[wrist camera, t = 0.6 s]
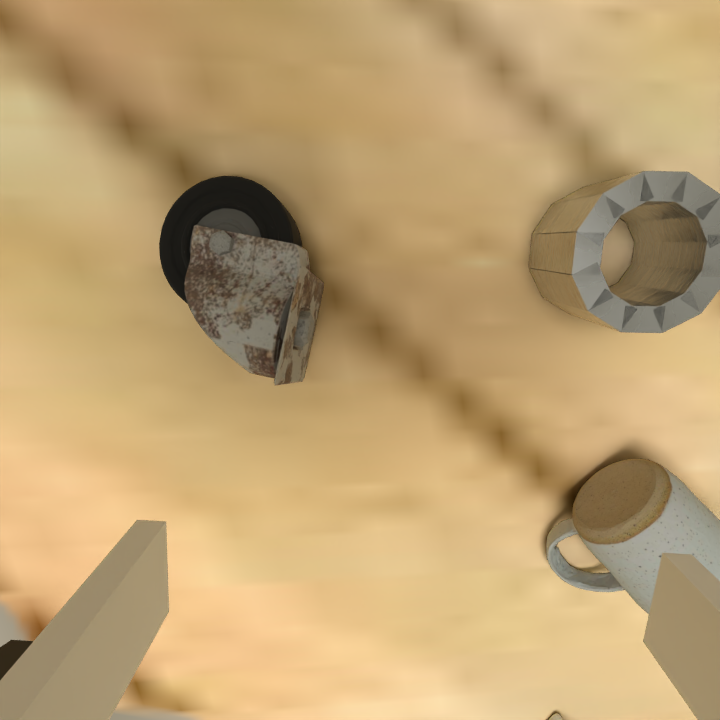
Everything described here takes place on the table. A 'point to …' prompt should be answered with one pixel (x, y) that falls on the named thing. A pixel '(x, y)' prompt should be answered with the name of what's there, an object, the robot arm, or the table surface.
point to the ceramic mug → (635, 529)
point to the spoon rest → (556, 717)
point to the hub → (650, 254)
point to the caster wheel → (243, 274)
